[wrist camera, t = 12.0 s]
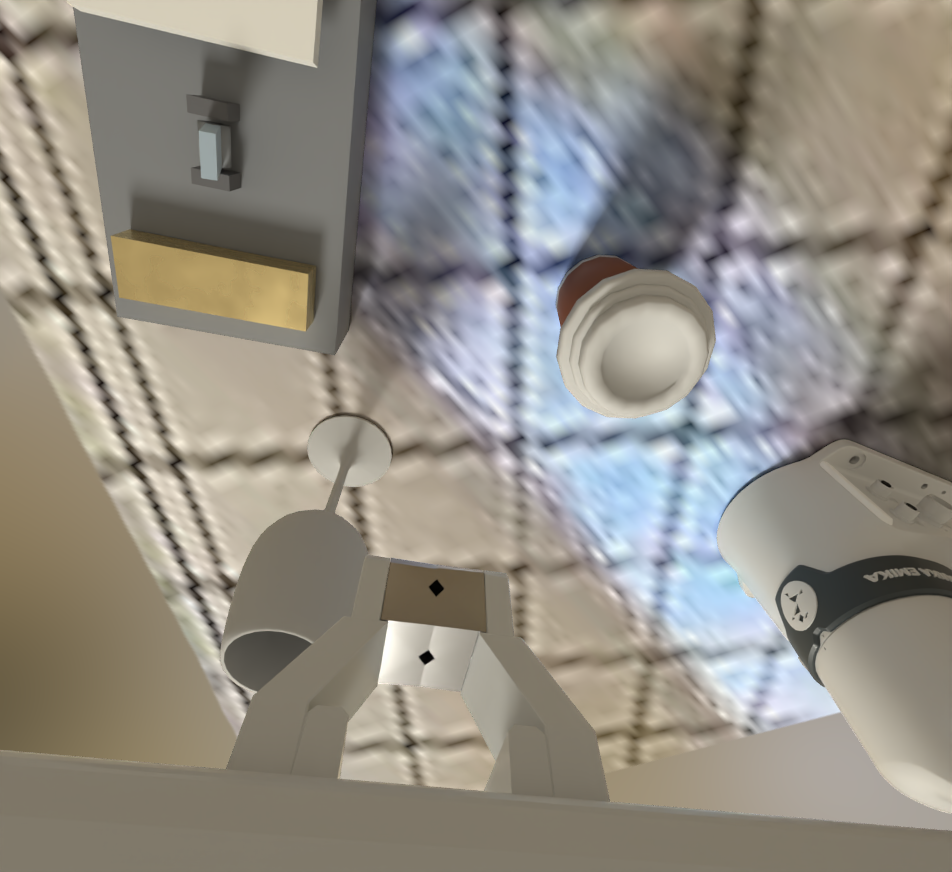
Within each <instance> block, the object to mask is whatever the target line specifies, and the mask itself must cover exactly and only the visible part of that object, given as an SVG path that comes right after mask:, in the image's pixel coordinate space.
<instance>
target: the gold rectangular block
mask: <svg viewBox="0 0 952 872" xmlns="http://www.w3.org/2000/svg"><path fill="white" fill-rule="evenodd" d="M111 242H112V249H113V256H114V264H115V271H116V278H117V285H118V292H119V298H124V299H130V300H135V301H141V302H146V303H152V304H157V305H163V306H168V307H174V308H179V309H185V310H190V311H196V312H201V313H207V314H212V315H218V316H223V317H229V318H234V319H240V320H245V321H251V322H256V323H262V324H267V325H273V326H278V327H284V328H289V329H295V330H300V331H307V329H308V328H309V327H310V325H311V324H312V323H313V321H314V306H315V285H316V266H314V265H309V264H304V263H299V262H294V261H289V260H284V259H278V258H273V257H268V256H263V255H258V254H253V253H248V252H243V251H238V250H233V249H228V248H223V247H217V246H212V245H207V244H202V243H197V242H192V241H187V240H182V239H177V238H172V237H167V236H161V235H156V234H151V233H146V232H141V231H136V230H131V229H129V230H126V231H123V232H120V233H117V234H114V235H111Z"/></svg>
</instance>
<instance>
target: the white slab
mask: <svg viewBox="0 0 952 872" xmlns="http://www.w3.org/2000/svg"><path fill="white" fill-rule="evenodd" d="M67 4H69V5H71V6H73V7H74V8H76V9H78V10H79V11H81V12H86V13H90V14H94V15H98V16H102V17H106V18H111V19H115V20H119V21H123V22H127V23H132V24H136V25H140V26H144V27H148V28H152V29H157V30H161V31H165V32H169V33H173V34H177V35H182V36H186V37H190V38H194V39H198V40H203V41H207V42H211V43H215V44H219V45H223V46H228V47H232V48H236V49H240V50H244V51H249V52H253V53H257V54H261V55H265V56H269V57H274V58H278V59H282V60H286V61H290V62H295V63H299V64H303V65H307V66H311V67H315V68H318V58H319V45H320V32H321V19H322V6H323V0H67Z"/></svg>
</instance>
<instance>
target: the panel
mask: <svg viewBox="0 0 952 872" xmlns="http://www.w3.org/2000/svg"><path fill="white" fill-rule="evenodd" d="M376 3H377V0H323V6H322V19H321V32H320V45H319V58H318V68H315V67H311V66H307V65H303V64H299V63H295V62H290V61H286V60H282V59H278V58H274V57H269V56H265V55H261V54H257V53H253V52H249V51H244V50H240V49H236V48H232V47H228V46H223V45H219V44H215V43H211V42H207V41H203V40H198V39H194V38H190V37H186V36H182V35H177V34H173V33H169V32H165V31H161V30H157V29H152V28H148V27H144V26H140V25H136V24H132V23H127V22H123V21H119V20H115V19H111V18H106V17H102V16H98V15H94V14H90V13H86V12H81V11H79V10H78V9H76V8H74V7H73V9H74V16H75V23H76V30H77V37H78V44H79V51H80V58H81V65H82V72H83V79H84V86H85V93H86V100H87V107H88V114H89V121H90V128H91V135H92V142H93V149H94V156H95V163H96V170H97V177H98V184H99V191H100V198H101V205H102V212H103V219H104V226H105V233H106V240H107V247H108V254H109V261H110V268H111V275H112V282H113V289H114V296H115V303H116V310H117V317H123V318H129V319H134V320H140V321H146V322H151V323H157V324H162V325H168V326H174V327H179V328H185V329H190V330H196V331H202V332H207V333H213V334H219V335H224V336H230V337H235V338H241V339H247V340H252V341H258V342H263V343H269V344H275V345H280V346H286V347H292V348H297V349H303V350H308V351H314V352H320V353H325V354H331V355H335V354H336V352H337V351H338V349H339V347H340V345H341V343H342V341H343V340H344V338H345V336H346V334H347V332H348V330H349V321H350V309H351V297H352V286H353V274H354V262H355V250H356V239H357V227H358V215H359V203H360V192H361V180H362V168H363V156H364V144H365V133H366V121H367V109H368V97H369V86H370V74H371V62H372V50H373V39H374V27H375V15H376ZM197 120H205V121H211V122H217V123H221V124H225V125H229V126H231V162H232V167H231V168H222V169H221V172H220V175H219V178H218V181H216V180H210V179H203V178H201V166H200V162H199V145H198V127H197ZM129 229H131V230H136V231H141V232H146V233H151V234H156V235H161V236H167V237H172V238H177V239H182V240H187V241H192V242H197V243H202V244H207V245H212V246H217V247H223V248H228V249H233V250H238V251H243V252H248V253H253V254H258V255H263V256H268V257H273V258H278V259H284V260H289V261H294V262H299V263H304V264H309V265H314V266H316V285H315V306H314V321H313V323H312V324H311V325H310V327H309V328H308V329H307V331H300V330H295V329H289V328H284V327H278V326H273V325H267V324H262V323H256V322H251V321H245V320H240V319H234V318H229V317H223V316H218V315H212V314H207V313H201V312H196V311H190V310H185V309H179V308H174V307H168V306H163V305H157V304H152V303H146V302H141V301H135V300H130V299H124V298H119V292H118V285H117V278H116V271H115V264H114V256H113V249H112V242H111V235H114V234H117V233H120V232H123V231H126V230H129Z"/></svg>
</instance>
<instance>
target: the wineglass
mask: <svg viewBox="0 0 952 872" xmlns="http://www.w3.org/2000/svg"><path fill="white" fill-rule="evenodd" d="M307 450H308V456H309V459H310V461H311V463H312V465H313V466H314V468H315V469H316V470H317V471H318V473H320V474H321V475H322V476H323V477H325V478H326V479H328V480H330V481H332V482H333V483H334V486H333V489H332V492H331V494H330V497H329V500H328V503H327V506H326V508H325V510H306V511H298V512H295V513H292V514H288V515H286V516H284V517H283V518H281V519H279V520H278V521H276V522H275V523H273V524H272V525H271V526H269V527H268V528H267V529H266V530H265V531H264V532H263V533H262V534H261V535H260V537H259V538H258V540H257V541H256V542H255V544H254V545H253V547H252V549H251V551H250V553H249V555H248V557H247V559H246V562H245V564H244V566H243V568H242V571H241V574H240V577H239V580H238V583H237V586H236V589H235V592H234V596H233V599H232V602H231V606H230V609H229V613H228V617H227V621H226V625H225V630H224V634H223V639H222V644H221V651H220V663H221V666H222V669H223V670H224V672H225V673H226V675H227V676H228V677H229V678H230V679H231V680H232V681H233V682H235V683H236V684H237V685H239V686H240V687H242V688H244V689H246V690H247V691H250V692H253V693H255V694H256V693H257V692H258V691H259V690H260V689H261V688H262V687H264V686H265V685H266V684H267V683H268V682H269V681H270V680H272V679H273V678H274V677H275V676H276V675H277V674H278V673H280V672H281V671H282V670H283V669H284V668H285V667H286V666H288V665H289V664H290V663H291V662H292V661H293V660H294V659H296V658H297V657H298V656H299V655H300V654H301V653H302V652H304V651H305V650H306V649H307V648H308V647H309V646H310V645H312V644H313V643H314V642H315V641H316V640H317V639H318V638H320V637H321V636H322V635H323V634H324V633H325V632H326V631H327V630H329V629H330V628H331V627H332V626H333V625H334V624H335V623H337V622H338V621H339V620H340V619H341V618H342V617H343V616H347V617H351V615H352V611H353V607H354V602H355V598H356V593H357V589H358V584H359V580H360V576H361V571H362V567H363V562H364V559H365V557H366V554H367V555H368V552H367V549H366V546H365V543H364V541H363V539H362V536H361V535H360V534H359V532H358V531H357V530H356V529H355V528H354V527H353V526H352V525H351V524H350V523H349V522H347V521H346V520H345V519H344V518H342V517H340V516H339V515H337V514H335V510H336V507H337V504H338V501H339V498H340V495H341V492H342V489H343V486H350V487H358V486H365V485H368V484H371V483H373V482H375V481H377V480H379V479H380V478H381V477H382V476H383V475H384V474H385V473H386V471H387V470H388V468H389V466H390V462H391V458H392V450H391V446H390V443H389V440H388V438H387V437H386V435H385V434H384V432H383V431H382V430H381V429H379V428H378V427H377V426H376V425H375V424H373V423H371V422H370V421H368V420H366V419H363V418H360V417H357V416H349V415H343V416H335V417H332V418H329V419H326V420H324V421H323V422H321V423H320V424H318V425H317V427H316V428H315V429H314V430H313V431H312V433H311V435H310V438H309V440H308V447H307Z"/></svg>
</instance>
